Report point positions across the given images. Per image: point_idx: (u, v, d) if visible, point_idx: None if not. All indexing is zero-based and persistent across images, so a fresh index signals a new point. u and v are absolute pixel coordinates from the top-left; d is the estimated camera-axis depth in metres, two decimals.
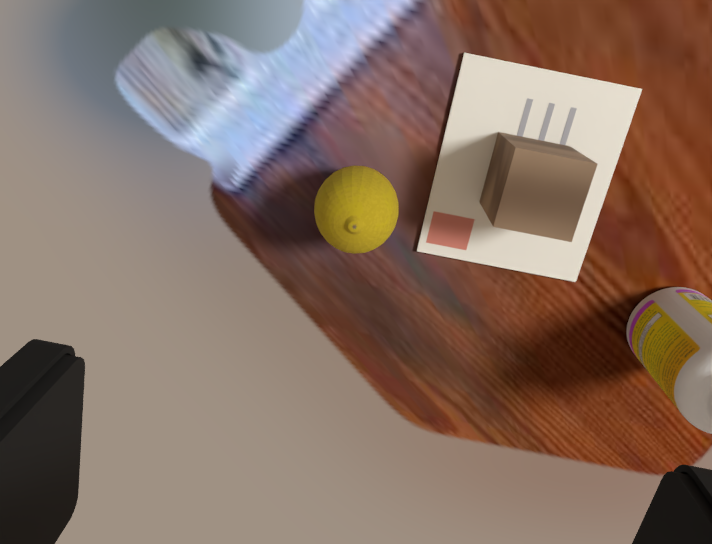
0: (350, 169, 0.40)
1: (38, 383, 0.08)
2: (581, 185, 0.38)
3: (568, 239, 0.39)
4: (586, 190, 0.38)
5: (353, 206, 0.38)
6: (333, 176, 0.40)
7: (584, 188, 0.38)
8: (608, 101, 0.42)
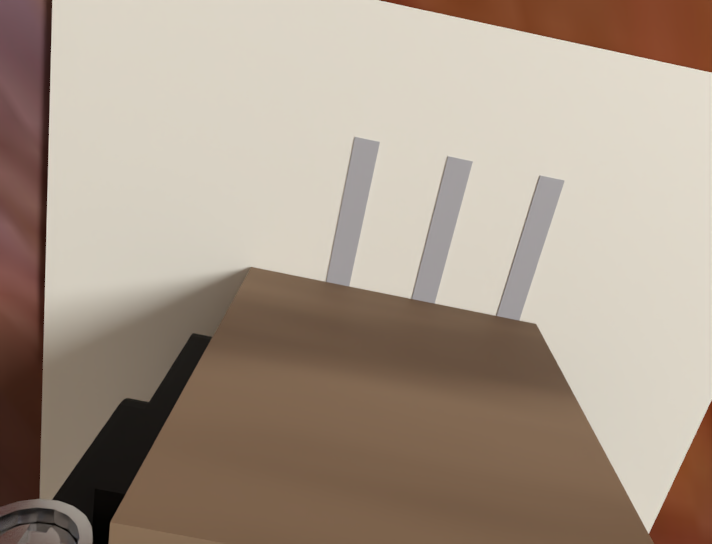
0: None
1: None
2: None
3: None
4: None
5: None
6: None
7: None
8: (698, 155, 0.10)
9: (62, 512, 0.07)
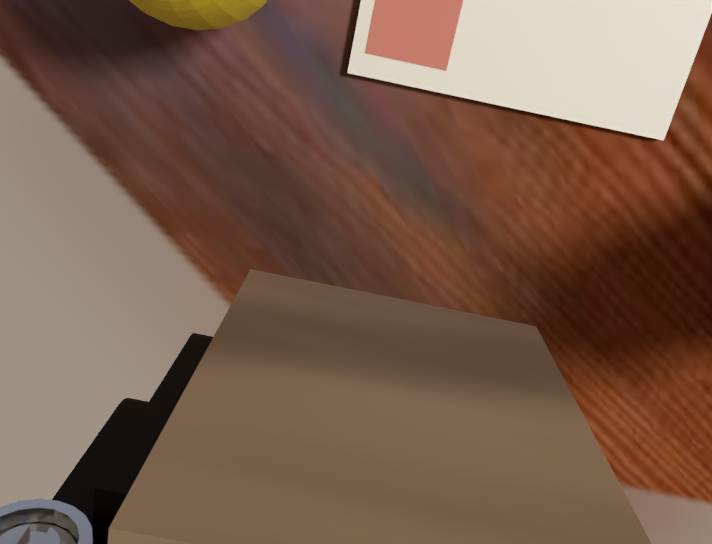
0: None
1: None
2: None
3: None
4: None
5: None
6: None
7: None
8: None
9: (62, 512, 0.07)
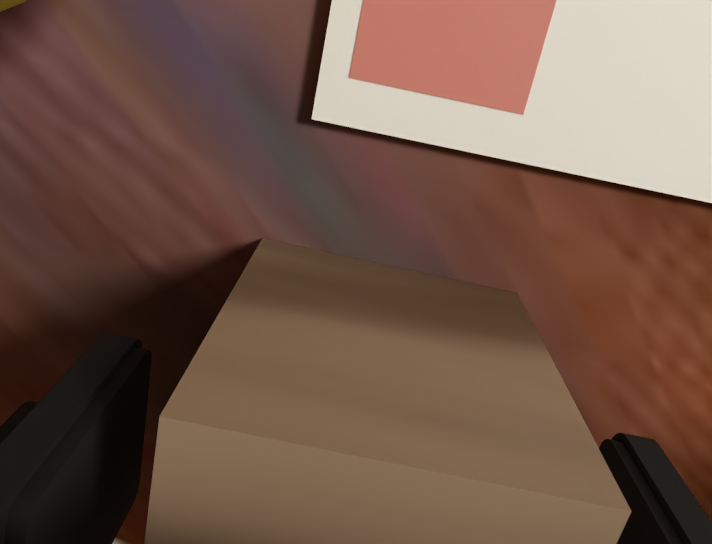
0: None
1: (115, 373, 0.09)
2: None
3: None
4: None
5: None
6: None
7: None
8: None
9: None
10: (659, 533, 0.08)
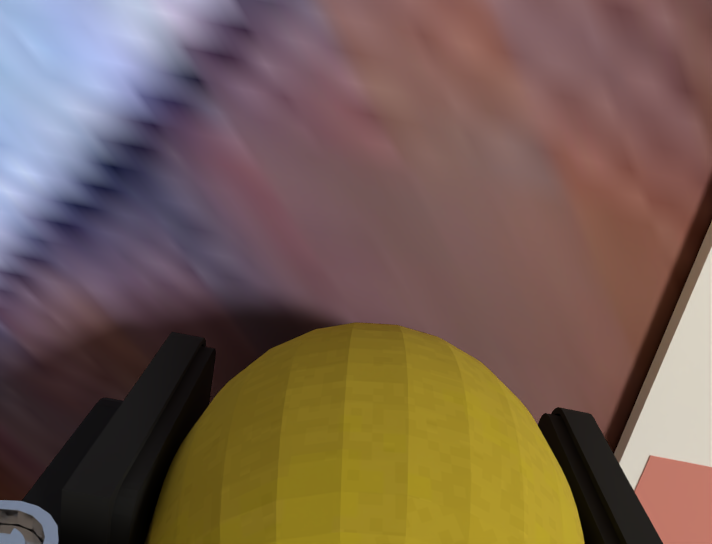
0: (334, 383, 0.07)
1: (189, 370, 0.09)
2: None
3: None
4: None
5: None
6: (237, 423, 0.07)
7: None
8: None
9: (28, 514, 0.06)
10: (582, 498, 0.09)
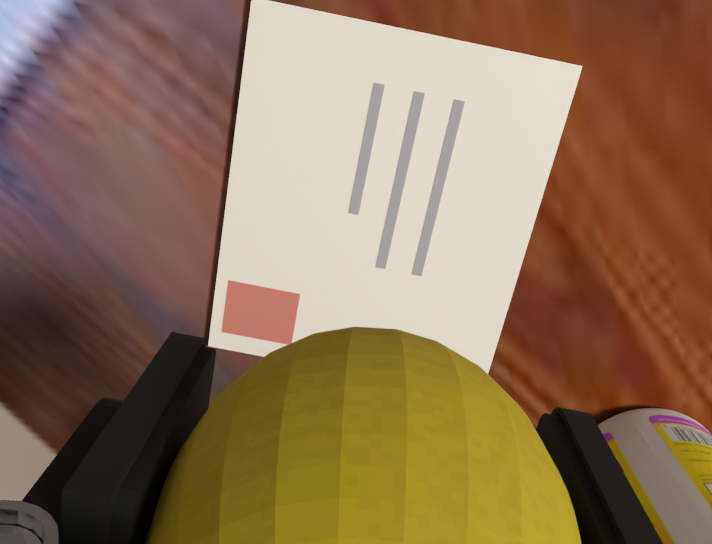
0: (333, 388, 0.07)
1: (189, 371, 0.09)
2: None
3: None
4: None
5: None
6: (236, 428, 0.07)
7: None
8: (521, 89, 0.23)
9: (28, 513, 0.06)
10: (582, 498, 0.09)
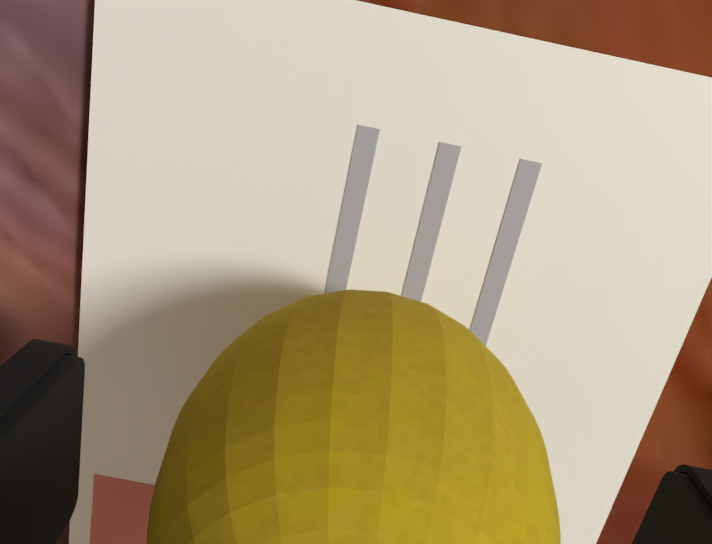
0: (327, 333, 0.08)
1: (38, 383, 0.08)
2: None
3: None
4: None
5: None
6: (240, 369, 0.08)
7: None
8: (659, 140, 0.11)
9: None
10: None
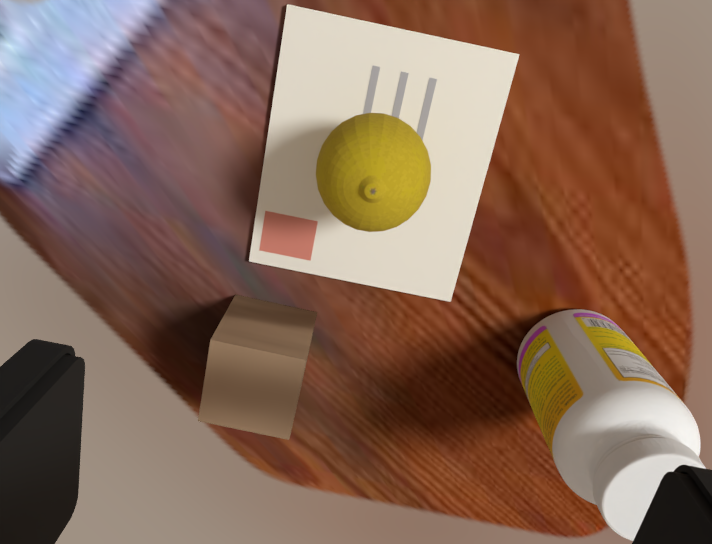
0: (366, 115, 0.29)
1: (38, 383, 0.08)
2: (291, 381, 0.33)
3: (285, 436, 0.34)
4: (297, 387, 0.33)
5: (371, 162, 0.27)
6: (342, 125, 0.29)
7: (295, 385, 0.33)
8: (476, 70, 0.32)
9: None
10: None
